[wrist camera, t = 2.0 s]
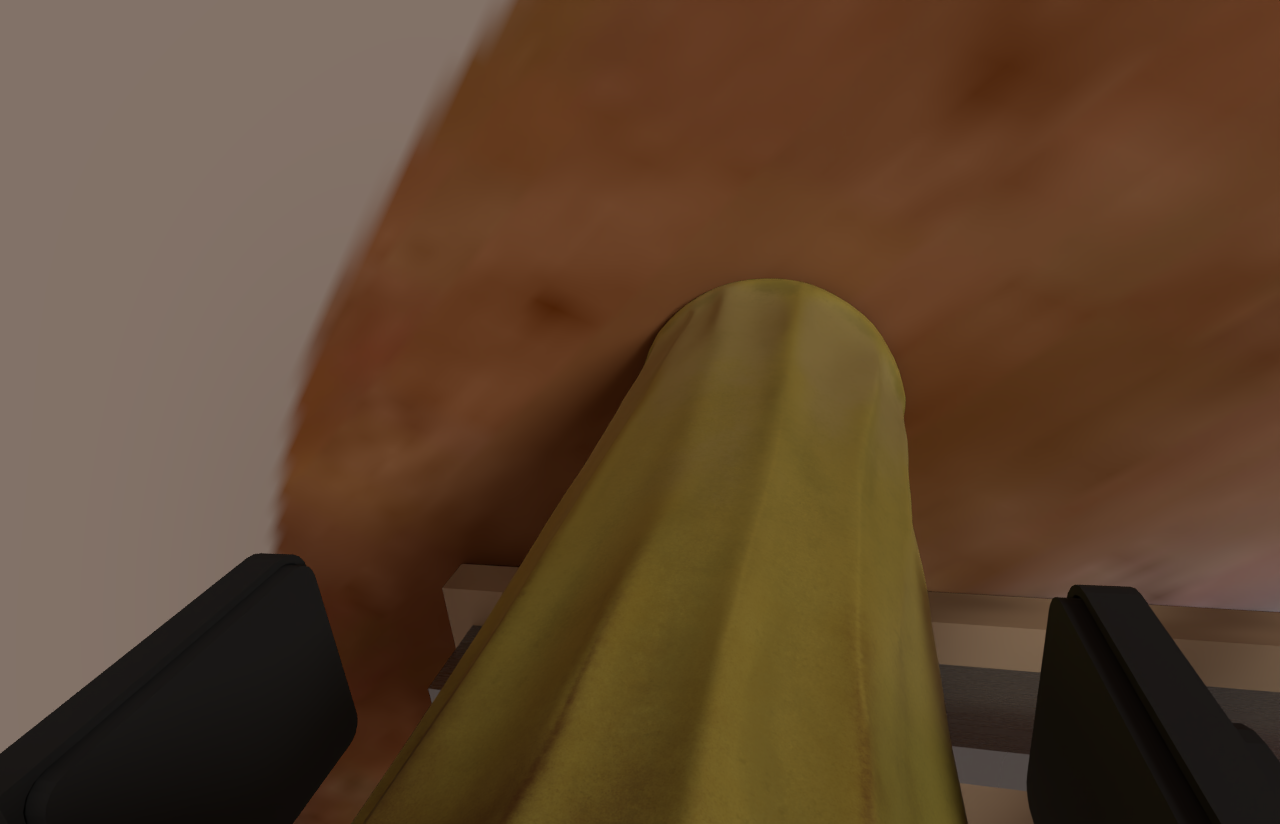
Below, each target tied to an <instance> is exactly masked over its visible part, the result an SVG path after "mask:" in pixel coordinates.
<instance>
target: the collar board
mask: <svg viewBox="0 0 1280 824" xmlns="http://www.w3.org/2000/svg"><path fill="white" fill-rule="evenodd" d="M518 568H519V567H507V566H490V565H473V564H461V565H460V567H459V568H458V569H457V570H456V571H455V573H454V574H453V575H452V576H451V578H450V579H449V580H448V581H447V582H446V584H445V585H444V586H443V587H442V590H443V595H444V599H445V603H446V608H447V612H448V616H449V621H450V625H451V629H452V634H453V638H454V642H455V647H456V648H457V647H458V645H459V644H460V642H461V641H462V639H463V638H464V637H465V635H466V634H467V632H468V631H469V629H470V628H471V627H472V625H476V626H483V624H484V623H485V621H486V620H487V618H488V616H489V615H490V613H491V612H492V610H493V608H494V607H495V605H496V604H497V602H498V600H499V599H500V597H501V595H502V594H503V592H504V591H505V589H506V587H507V586H508V584H509V583H510V581H511V580H512V578H513V576H514V575H515V573H516V572H517V570H518ZM928 598H929V604H930V612H931V622H932V628H933V634H934V640H935V646H936V651H937V657H938V662H939V664H945V665H957V666H969V667H981V668H993V669H1005V670H1017V671H1029V672H1041V665H1042V658H1043V650H1044V642H1045V635H1046V627H1047V620H1048V612H1049V607H1050V603H1051V601H1052V599H1044V598H1028V597H1011V596H994V595H977V594H960V593H943V592H928ZM1149 606H1150V608H1151V609H1152V610H1153V612H1154V613H1155V615H1156V616H1157V618H1158V619H1159V620H1160V622H1161V623H1162V625H1163V626H1164V627H1165V629H1166V630H1167V632H1168V633H1169V634H1170V636H1171V637H1172V639H1173V640H1174V642H1175V643H1176V644H1177V646H1178V647H1179V649H1180V650H1181V651H1182V653H1183V654H1184V656H1185V657H1186V659H1187V660H1188V661H1189V663H1190V664H1191V666H1192V667H1193V668H1194V670H1195V671H1196V673H1197V674H1198V675H1199V677H1200V678H1201V680H1202V681H1203V683H1204V684H1205V685H1206V686H1210V687H1222V688H1234V689H1246V690H1258V691H1270V692H1280V612H1263V611H1246V610H1229V609H1212V608H1196V607H1179V606H1162V605H1149ZM960 787H961V792H962V796H963V801H964V806H965V811H966V816H967V821H968V824H1034V822H1033V819H1032V816H1031V813H1030V809H1029V804H1028V797H1027V791H1020V790H1012V789H1004V788H995V787H987V786H979V785H971V784H963V783H960Z"/></svg>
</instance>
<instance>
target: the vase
mask: <svg viewBox="0 0 1280 824" xmlns="http://www.w3.org/2000/svg"><path fill="white" fill-rule="evenodd" d="M905 403H906V397H905V392H904V388H903V384H902V380H901V376H900V372H899V370H898V367H897V364H896V362H895V359H894V357H893V355H892V354H891V352H890V350H889V348H888V346H887V344H886V343H885V341H884V339H883V337H882V336H881V334H880V333H879V332H878V330H877V329H876V328H875V326H874V325H873V324H872V323H871V322H870V321H869V320H868V319H867V318H866V317H865V316H864V315H863V314H862V313H860V312H859V311H858V310H856V309H855V308H854V307H853V306H851V305H850V304H848V303H847V302H845V301H844V300H842V299H841V298H839V297H837V296H836V295H834V294H832V293H830V292H828V291H826V290H824V289H821V288H819V287H816V286H814V285H811V284H808V283H804V282H799V281H794V280H786V279H750V280H743V281H738V282H734V283H729V284H726V285H723V286H720V287H717V288H715V289H713V290H710V291H708V292H706V293H704V294H703V295H701V296H699V297H697V298H696V299H694V300H693V301H691V302H690V303H688V304H687V305H685V306H684V307H683V308H682V309H681V310H679V311H678V312H677V313H676V314H675V315H674V316H673V317H672V318H671V319H670V320H669V321H668V322H667V323H666V324H665V326H664V327H663V328H662V329H661V330H660V331H659V333H658V334H657V336H656V338H655V340H654V342H653V344H652V346H651V348H650V350H649V353H648V355H647V358H646V361H645V364H644V367H643V369H642V370H641V372H640V374H639V375H638V377H637V379H636V380H635V382H634V384H633V385H632V387H631V388H630V390H629V391H628V393H627V394H626V396H625V398H624V399H623V401H622V403H621V405H620V406H619V408H618V410H617V412H616V414H615V415H614V417H613V419H612V420H611V422H610V424H609V425H608V427H607V429H606V430H605V432H604V434H603V435H602V437H601V438H600V440H599V442H598V443H597V445H596V446H595V448H594V450H593V451H592V453H591V455H590V456H589V458H588V460H587V462H586V463H585V465H584V466H583V468H582V469H581V471H580V472H579V474H578V475H577V477H576V478H575V480H574V481H573V483H572V484H571V485H570V487H569V488H568V490H567V491H566V493H565V494H564V496H563V498H562V499H561V501H560V502H559V504H558V505H557V507H556V508H555V510H554V512H553V513H552V515H551V516H550V518H549V519H548V521H547V523H546V524H545V526H544V528H543V529H542V531H541V533H540V534H539V536H538V538H537V539H536V541H535V543H534V544H533V546H532V547H531V549H530V551H529V552H528V554H527V556H526V557H525V559H524V560H523V562H522V564H521V565H520V567H519V568H518V570H517V572H516V573H515V575H514V576H513V578H512V580H511V581H510V583H509V584H508V586H507V587H506V589H505V591H504V592H503V594H502V595H501V597H500V599H499V600H498V602H497V604H496V605H495V607H494V608H493V610H492V612H491V613H490V615H489V616H488V618H487V620H486V621H485V623H484V624H483V626H482V628H481V629H480V631H479V632H478V634H477V635H476V637H475V638H474V640H473V641H472V643H471V644H470V646H469V647H468V649H467V650H466V652H465V653H464V655H463V657H462V658H461V660H460V661H459V663H458V664H457V666H456V668H455V669H454V671H453V672H452V674H451V675H450V677H449V678H448V680H447V681H446V683H445V685H444V686H443V688H442V689H441V691H440V692H439V694H438V695H437V697H436V698H435V700H434V701H433V703H432V704H431V706H430V707H429V709H428V710H427V712H426V713H425V715H424V716H423V718H422V719H421V721H420V723H419V724H418V726H417V727H416V729H415V730H414V732H413V733H412V735H411V736H410V738H409V739H408V741H407V742H406V744H405V745H404V747H403V748H402V750H401V751H400V753H399V754H398V756H397V757H396V759H395V760H394V762H393V763H392V765H391V766H390V767H389V769H388V770H387V772H386V773H385V775H384V776H383V778H382V779H381V781H380V782H379V784H378V785H377V787H376V788H375V789H374V791H373V792H372V794H371V795H370V797H369V798H368V800H367V801H366V803H365V804H364V806H363V807H362V809H361V810H360V812H359V813H358V814H357V816H356V817H355V819H354V820H353V822H352V823H351V824H968V821H967V816H966V811H965V806H964V801H963V796H962V792H961V787H960V782H959V778H958V773H957V768H956V763H955V759H954V754H953V749H952V744H951V738H950V732H949V727H948V720H947V713H946V707H945V700H944V694H943V687H942V680H941V674H940V668H939V662H938V657H937V651H936V646H935V640H934V634H933V628H932V622H931V612H930V604H929V598H928V592H927V587H926V582H925V577H924V572H923V567H922V563H921V559H920V554H919V550H918V546H917V542H916V538H915V534H914V530H913V526H912V507H911V495H910V487H909V474H908V444H907V436H906V431H905V425H904V412H905Z"/></svg>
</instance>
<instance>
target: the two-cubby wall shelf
mask: <svg viewBox="0 0 1280 824" xmlns="http://www.w3.org/2000/svg"><path fill="white" fill-rule="evenodd" d="M481 628H482V626H476V625H472V627H471V628H470V629H469V631H468V632H467V634H466V635H465V637H464V638H463V639H462V641H461V642H460V644H459V645H458V647H457V648H456V649H455V651H454V652H453V654H452V655H451V657H450V658H449V659H448V661H447V662H446V664H445V665H444V667H443V668H442V669H441V671H440V672H439V674H438V675H437V677H436V678H435V680H434V681H433V682H432V684H431V685H430V687H429V688H428V690H429V694H430V698H431V702H432V703H433V701H434V700H435V698H436V697H437V695H438V694H439V692H440V691H441V689H442V688H443V686H444V685H445V683H446V681H447V680H448V678H449V677H450V675H451V674H452V672H453V671H454V669H455V668H456V666H457V664H458V663H459V661H460V660H461V658H462V657H463V655H464V653H465V652H466V650H467V649H468V647H469V646H470V644H471V643H472V641H473V640H474V638H475V637H476V635H477V634H478V632H479V631H480V629H481ZM939 668H940V674H941V680H942V687H943V694H944V700H945V707H946V713H947V720H948V727H949V732H950V738H951V744H952V749H953V754H954V759H955V763H956V768H957V773H958V778H959V782H960V783H963V784H971V785H979V786H987V787H995V788H1004V789H1012V790H1020V791H1027V784H1026V781H1027V771H1028V763H1029V756H1030V748H1031V741H1032V733H1033V725H1034V718H1035V710H1036V703H1037V695H1038V688H1039V680H1040V673H1041V672H1029V671H1017V670H1005V669H993V668H981V667H969V666H957V665H945V664H939ZM1206 687H1207V688H1208V690H1209V691H1210V692H1211V694H1212V695H1213V697H1214V698H1215V699H1216V701H1217V702H1218V704H1219V705H1220V707H1221V708H1222V709H1223V711H1224V712H1225V714H1226V715H1227V716H1228V718H1229V719H1230V721H1231V722H1232V723H1242V724H1244V725H1245V726H1247V727H1249V728H1251V729H1252V730H1254V731H1255V732H1256V733H1257V734H1258V735H1259V736H1260V737H1261V739H1262V740H1263V741H1264V742H1265V743H1266V744H1267V745H1268V747H1269V748H1270V749H1271V751H1272V752H1273V753H1274V755H1275V756H1276V757H1277V759H1278V760H1279V761H1280V692H1270V691H1258V690H1246V689H1234V688H1222V687H1210V686H1206Z"/></svg>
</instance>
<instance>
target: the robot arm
mask: <svg viewBox="0 0 1280 824" xmlns="http://www.w3.org/2000/svg"><path fill="white" fill-rule="evenodd" d="M356 728H357V713H356V709H355V706H354V703H353V700H352V696H351V693H350V690H349V686H348V683H347V680H346V676H345V673H344V670H343V667H342V663H341V660H340V657H339V653H338V650H337V647H336V644H335V640H334V637H333V634H332V630H331V627H330V624H329V620H328V617H327V614H326V611H325V607H324V604H323V601H322V597H321V594H320V591H319V588H318V584H317V581H316V578H315V575H314V573H313V571H312V570H311V569H310V568H309V567H307V566H306V565H305V562H304V561H303V560H302V559H301V558H300V557H299V556H296V555H289V554H262V553H260V554H253V555H252V556H250V557H248V558H246V559H245V560H244V561H243V562H242V563H240V564H239V565H238V566H236V567H235V568H234V569H233V570H231V571H230V572H229V573H228V574H226V575H225V576H224V577H222V578H221V579H220V580H219V581H217V582H216V583H215V584H214V585H212V586H211V587H210V588H209V589H207V590H206V591H205V592H204V593H202V594H201V595H200V596H199V597H197V598H196V599H195V600H193V601H192V602H191V603H190V604H188V605H187V606H186V607H185V608H183V609H182V610H181V611H180V612H178V613H177V614H176V615H175V616H173V617H172V618H171V619H170V620H168V621H167V622H166V623H164V624H163V625H162V626H161V627H159V628H158V629H157V630H156V631H154V632H153V633H152V634H151V635H149V636H148V637H147V638H146V639H144V640H143V641H142V642H141V643H139V644H138V645H137V646H136V647H134V648H133V649H132V650H131V651H129V652H128V653H127V654H125V655H124V656H123V657H122V658H120V659H119V660H118V661H117V662H115V663H114V664H113V665H112V666H110V667H109V668H108V669H106V670H105V671H104V672H103V673H101V674H100V675H99V676H98V677H97V678H95V679H94V680H93V681H91V682H90V683H89V684H88V685H86V686H85V687H84V688H82V689H81V690H80V691H79V692H77V693H76V694H75V695H74V696H72V697H71V698H70V699H69V700H67V701H66V702H65V703H64V704H62V705H61V706H60V707H59V708H57V709H56V710H55V711H54V712H52V713H51V714H50V715H48V716H47V717H46V718H45V719H44V720H42V721H41V722H40V723H38V724H37V725H36V726H35V727H33V728H32V729H31V730H30V731H28V732H27V733H26V734H25V735H23V736H22V737H21V738H20V739H18V740H17V741H16V742H14V743H13V744H12V745H11V746H9V747H8V748H7V749H6V750H4V751H3V752H2V753H1V754H0V824H293V822H294V821H295V820H296V818H297V817H298V816H299V814H300V813H301V811H302V810H303V809H304V807H305V806H306V804H307V803H308V802H309V800H310V799H311V798H312V796H313V795H314V793H315V792H316V791H317V789H318V788H319V787H320V785H321V784H322V782H323V781H324V780H325V778H326V777H327V775H328V774H329V773H330V771H331V770H332V769H333V767H334V766H335V764H336V763H337V762H338V760H339V759H340V757H341V756H342V755H343V753H344V752H345V751H346V749H347V748H348V746H349V745H350V743H351V742H352V740H353V738H354V735H355V733H356ZM1026 784H1027V797H1028V804H1029V809H1030V813H1031V816H1032V819H1033V822H1034V824H1280V761H1279V760H1278V759H1277V757H1276V756H1275V755H1274V753H1273V752H1272V751H1271V749H1270V748H1269V747H1268V745H1267V744H1266V743H1265V742H1264V741H1263V740H1262V739H1261V737H1260V736H1259V735H1258V734H1257V733H1256V732H1255V731H1254V730H1252V729H1251V728H1249V727H1247V726H1245V725H1244V724H1242V723H1232V722H1231V721H1230V719H1229V718H1228V716H1227V715H1226V714H1225V712H1224V711H1223V709H1222V708H1221V707H1220V705H1219V704H1218V702H1217V701H1216V699H1215V698H1214V697H1213V695H1212V694H1211V692H1210V691H1209V690H1208V688H1207V687H1206V685H1205V684H1204V683H1203V681H1202V680H1201V678H1200V677H1199V675H1198V674H1197V673H1196V671H1195V670H1194V668H1193V667H1192V666H1191V664H1190V663H1189V661H1188V660H1187V659H1186V657H1185V656H1184V654H1183V653H1182V651H1181V650H1180V649H1179V647H1178V646H1177V644H1176V643H1175V642H1174V640H1173V639H1172V637H1171V636H1170V634H1169V633H1168V632H1167V630H1166V629H1165V627H1164V626H1163V625H1162V623H1161V622H1160V620H1159V619H1158V618H1157V616H1156V615H1155V613H1154V612H1153V610H1152V609H1151V608H1150V606H1149V605H1148V603H1147V602H1146V601H1145V599H1144V598H1143V596H1142V595H1141V594H1140V593H1139V592H1138V591H1137V590H1136V589H1135V588H1132V587H1121V586H1095V585H1074V586H1072V587H1071V588H1070V590H1069V592H1068V596H1067V598H1058V597H1055V598H1053V599H1052V601H1051V603H1050V607H1049V612H1048V620H1047V627H1046V635H1045V642H1044V650H1043V658H1042V665H1041V673H1040V680H1039V688H1038V695H1037V703H1036V710H1035V718H1034V725H1033V733H1032V741H1031V748H1030V756H1029V763H1028V771H1027V781H1026Z"/></svg>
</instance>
